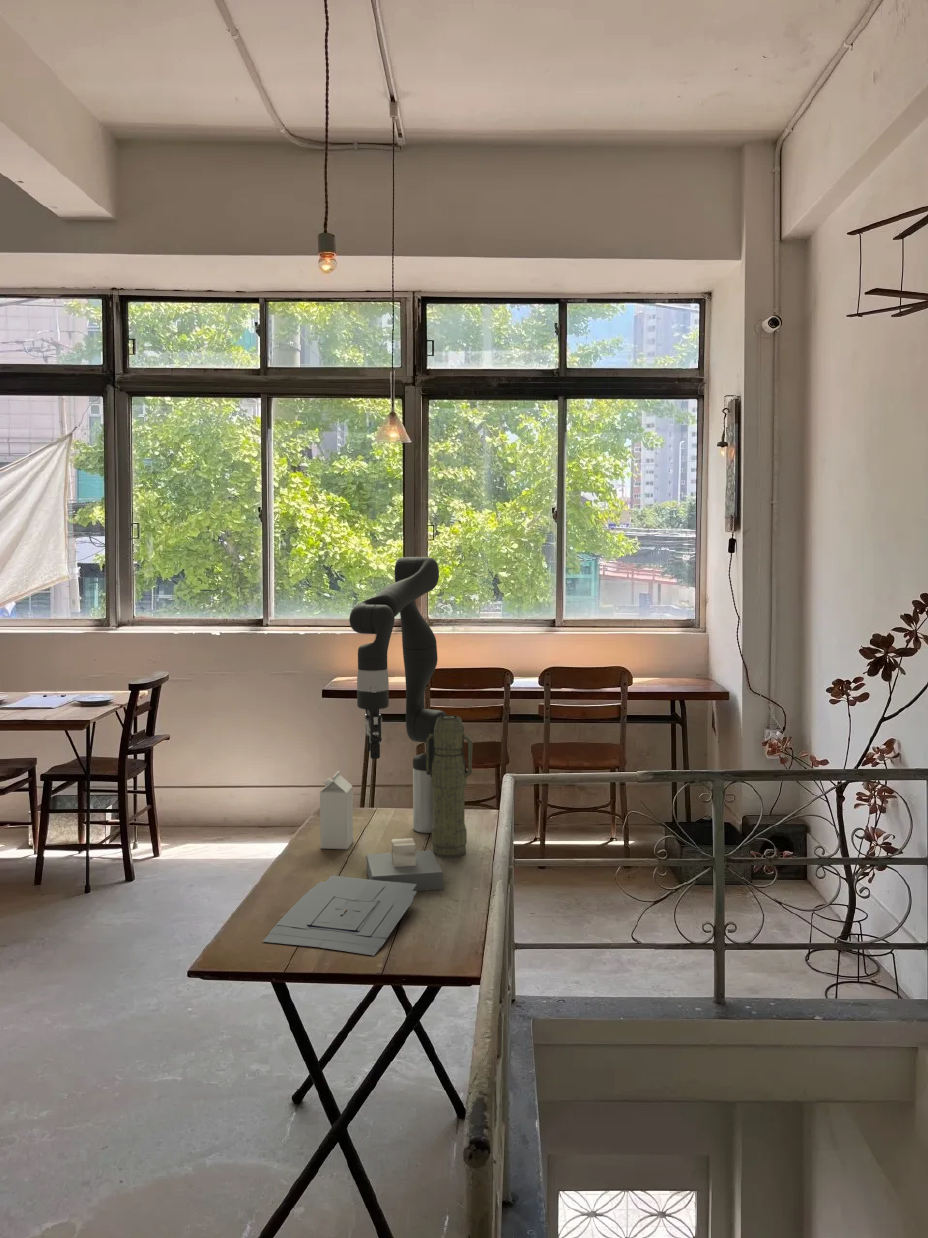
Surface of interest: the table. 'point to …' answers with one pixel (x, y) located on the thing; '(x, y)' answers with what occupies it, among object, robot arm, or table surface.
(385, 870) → the charcoal plinth
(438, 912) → the table surface
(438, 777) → the thermos
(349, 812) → the milk carton
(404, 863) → the cream cube
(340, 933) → the papers
